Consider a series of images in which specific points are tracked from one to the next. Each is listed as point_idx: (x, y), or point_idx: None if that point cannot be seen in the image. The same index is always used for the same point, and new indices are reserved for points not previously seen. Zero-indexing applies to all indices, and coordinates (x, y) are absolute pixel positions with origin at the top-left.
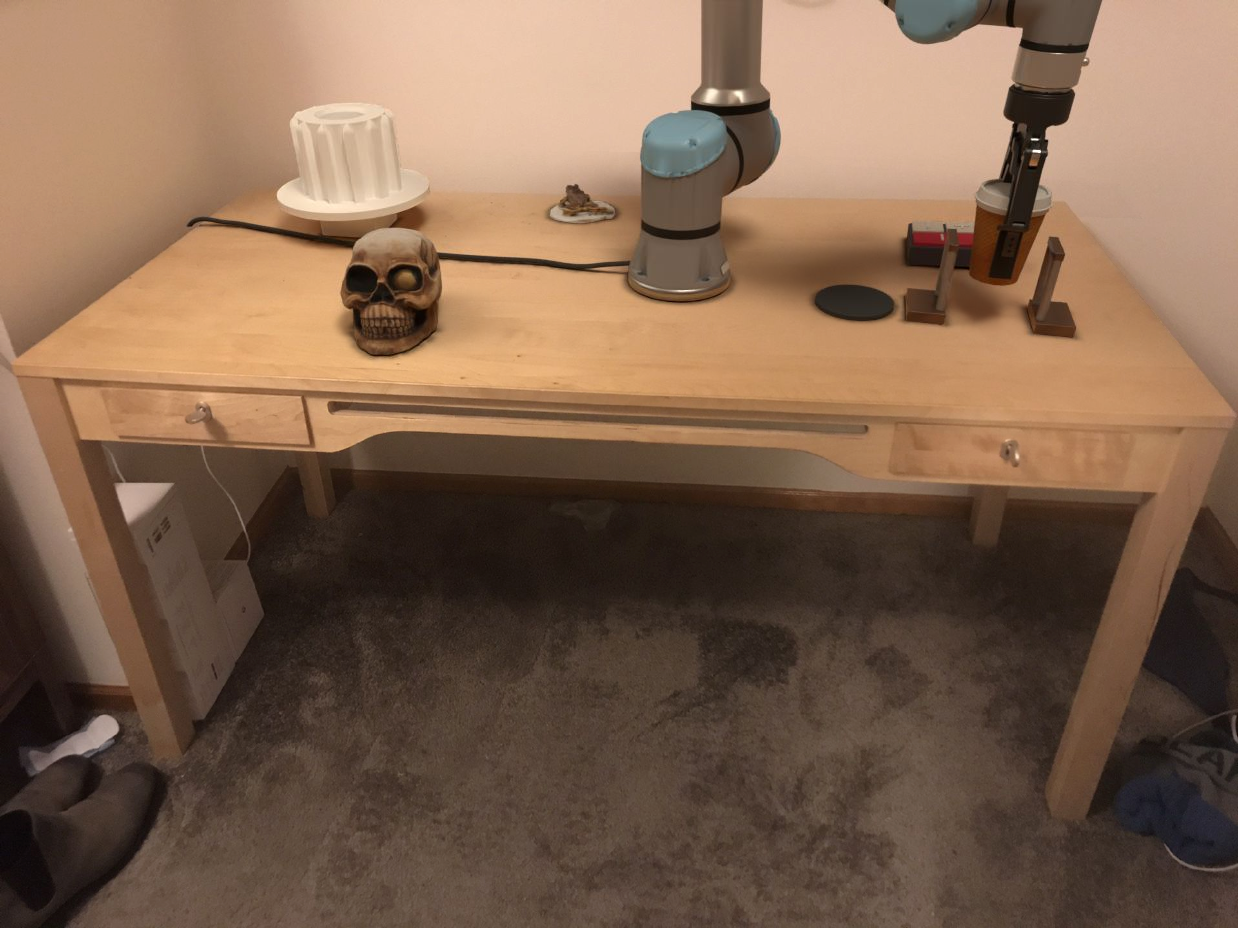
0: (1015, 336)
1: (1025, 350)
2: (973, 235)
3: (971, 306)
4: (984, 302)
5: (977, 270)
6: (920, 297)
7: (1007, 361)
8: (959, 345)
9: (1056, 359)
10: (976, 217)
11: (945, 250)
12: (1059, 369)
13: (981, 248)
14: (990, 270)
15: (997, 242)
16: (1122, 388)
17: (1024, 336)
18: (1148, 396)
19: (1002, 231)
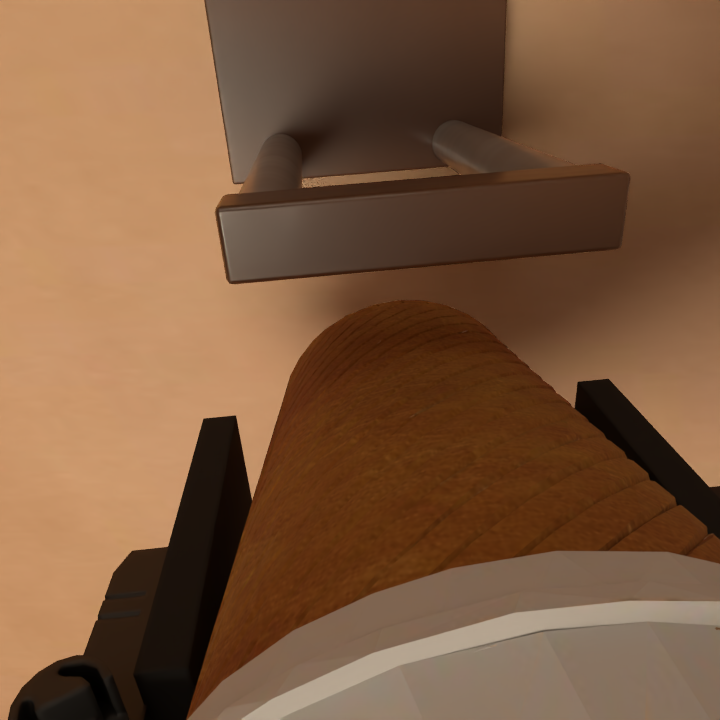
0: (240, 425)
1: (141, 454)
2: (440, 385)
3: (459, 279)
4: (508, 323)
5: (316, 357)
6: (395, 48)
7: (23, 406)
8: (67, 246)
9: (120, 529)
10: (423, 481)
11: (506, 163)
12: (53, 536)
13: (297, 426)
14: (203, 440)
15: (182, 569)
16: (23, 656)
17: (252, 449)
18: (12, 696)
19: (144, 666)
